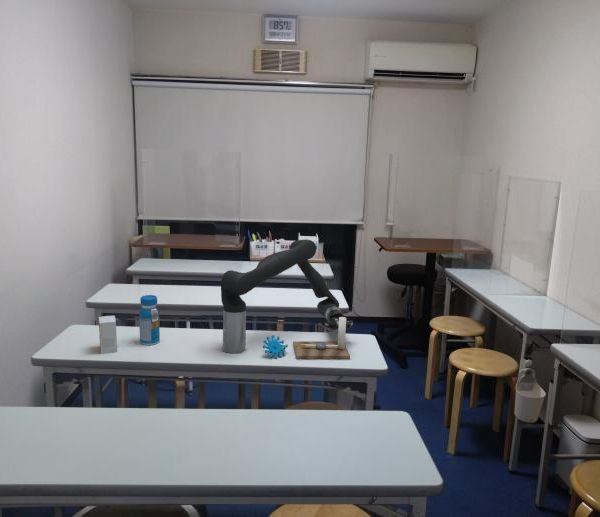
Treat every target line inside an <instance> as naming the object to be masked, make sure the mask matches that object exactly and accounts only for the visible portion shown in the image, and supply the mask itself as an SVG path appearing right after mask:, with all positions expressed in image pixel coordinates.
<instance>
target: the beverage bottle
mask: <svg viewBox="0 0 600 517" xmlns="http://www.w3.org/2000/svg"><path fill="white" fill-rule="evenodd" d="M139 302H140V306H141V307H140V309H139V311H138V314H139V317H138V323H139V343H140V344H142V345H144V346H153V345H156V344H158V343H160V341H161V338H160V337H161V336H160V331H161V330H160V320H161V319H160V318H161V317H160V315H159V314H160V310H159V308H158V306H157V305H158V296H156V295H154V294H145V295H142V296H141V297H140V301H139Z"/></svg>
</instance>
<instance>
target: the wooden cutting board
mask: <svg viewBox="0 0 600 517" xmlns="http://www.w3.org/2000/svg"><path fill="white" fill-rule="evenodd" d="M318 342H323V343H326V345H338V340H337V341H335V340H333V341H331V340H330V341H327V340H326V341H320V340H317V341H311V340H310V341H301V340H299V341H296V340H295V341H292V346H293V350H294V355H295V356H296V357H295V359H298V360H300V359H301V360H303V361H304V360H309V361H310V360H351V354H350V353H349V351H348V348H347V346H346V345H345V348H344V349H339V348H337V347H326V349H324V350H319V349H316V347H301V344H309V345H316V343H318Z"/></svg>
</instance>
